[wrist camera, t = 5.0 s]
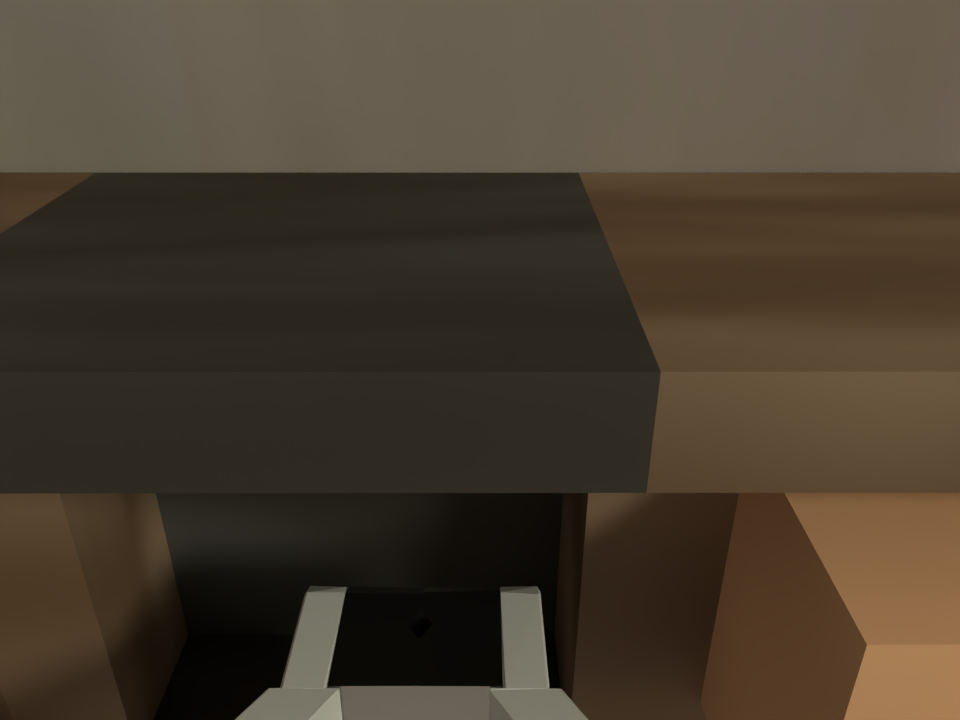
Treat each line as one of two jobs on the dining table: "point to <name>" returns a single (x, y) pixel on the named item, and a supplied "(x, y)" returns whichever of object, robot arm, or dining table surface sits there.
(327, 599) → the robot arm
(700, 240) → the box
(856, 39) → the dining table surface
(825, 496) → the terracotta block
